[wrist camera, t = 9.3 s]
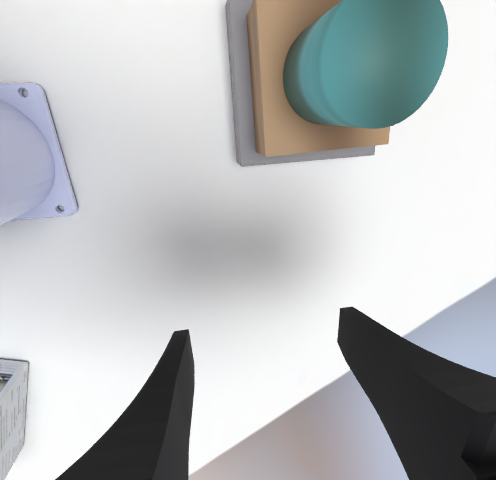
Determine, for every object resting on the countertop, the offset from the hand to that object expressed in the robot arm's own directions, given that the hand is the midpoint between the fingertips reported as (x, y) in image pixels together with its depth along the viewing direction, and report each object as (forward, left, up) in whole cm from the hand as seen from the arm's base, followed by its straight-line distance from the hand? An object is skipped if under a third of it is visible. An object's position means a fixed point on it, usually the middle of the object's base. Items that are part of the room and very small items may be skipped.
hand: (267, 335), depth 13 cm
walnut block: (+5, +11, -8) cm, 14 cm away
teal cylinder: (+4, +11, -5) cm, 13 cm away
